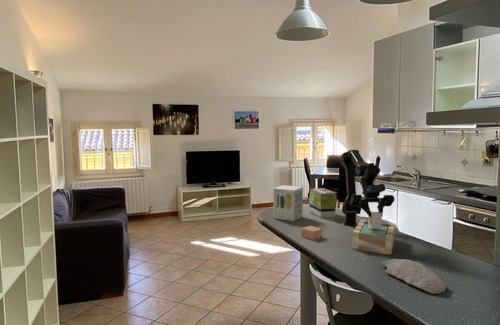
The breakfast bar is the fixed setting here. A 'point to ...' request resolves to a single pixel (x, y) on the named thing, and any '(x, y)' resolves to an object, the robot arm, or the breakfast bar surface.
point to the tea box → (322, 202)
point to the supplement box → (287, 202)
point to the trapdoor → (375, 231)
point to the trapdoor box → (373, 240)
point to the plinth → (311, 232)
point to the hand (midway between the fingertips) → (376, 216)
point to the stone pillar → (375, 220)
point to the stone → (415, 275)
